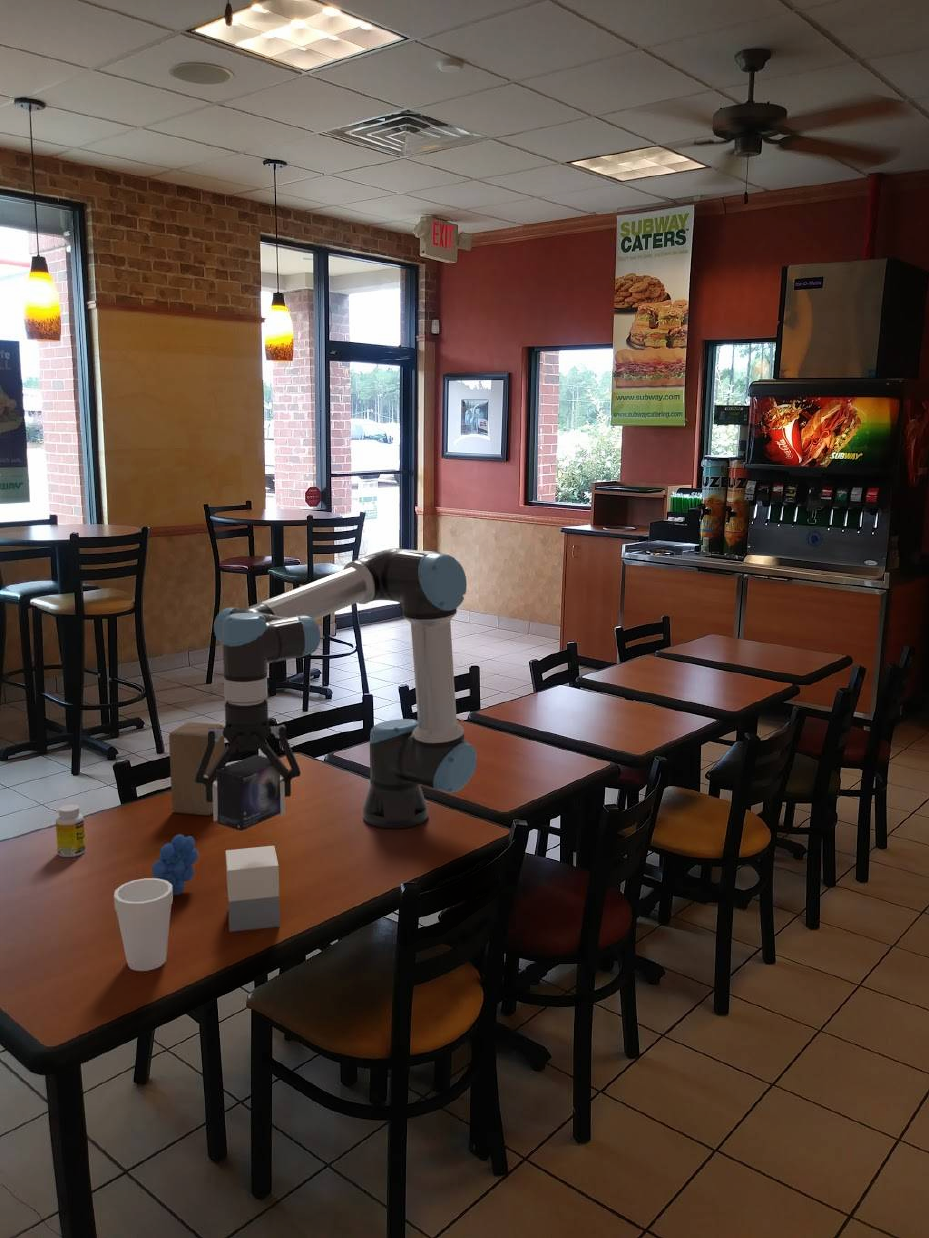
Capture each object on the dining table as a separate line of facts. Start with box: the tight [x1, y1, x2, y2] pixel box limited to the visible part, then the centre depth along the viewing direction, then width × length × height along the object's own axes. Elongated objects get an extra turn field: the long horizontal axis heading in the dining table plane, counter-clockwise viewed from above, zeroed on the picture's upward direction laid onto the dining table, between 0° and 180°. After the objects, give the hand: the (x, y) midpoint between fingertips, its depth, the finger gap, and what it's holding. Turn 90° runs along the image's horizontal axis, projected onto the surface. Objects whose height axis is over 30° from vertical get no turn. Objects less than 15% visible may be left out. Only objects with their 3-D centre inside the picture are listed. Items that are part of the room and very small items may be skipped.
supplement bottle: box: [55, 804, 86, 858], centre depth 211 cm, size 6×6×10 cm
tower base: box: [227, 895, 281, 933], centre depth 184 cm, size 9×9×6 cm
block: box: [168, 721, 226, 816], centre depth 236 cm, size 10×10×20 cm
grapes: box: [151, 833, 199, 896], centre depth 193 cm, size 12×7×12 cm, turn 151°
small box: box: [216, 754, 281, 832], centre depth 180 cm, size 11×6×10 cm, turn 148°
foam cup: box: [113, 877, 174, 972], centre depth 168 cm, size 10×9×13 cm
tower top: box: [225, 845, 280, 902], centre depth 183 cm, size 9×9×6 cm
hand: (249, 815), depth 181 cm, fingers closed on small box, 11 cm apart
